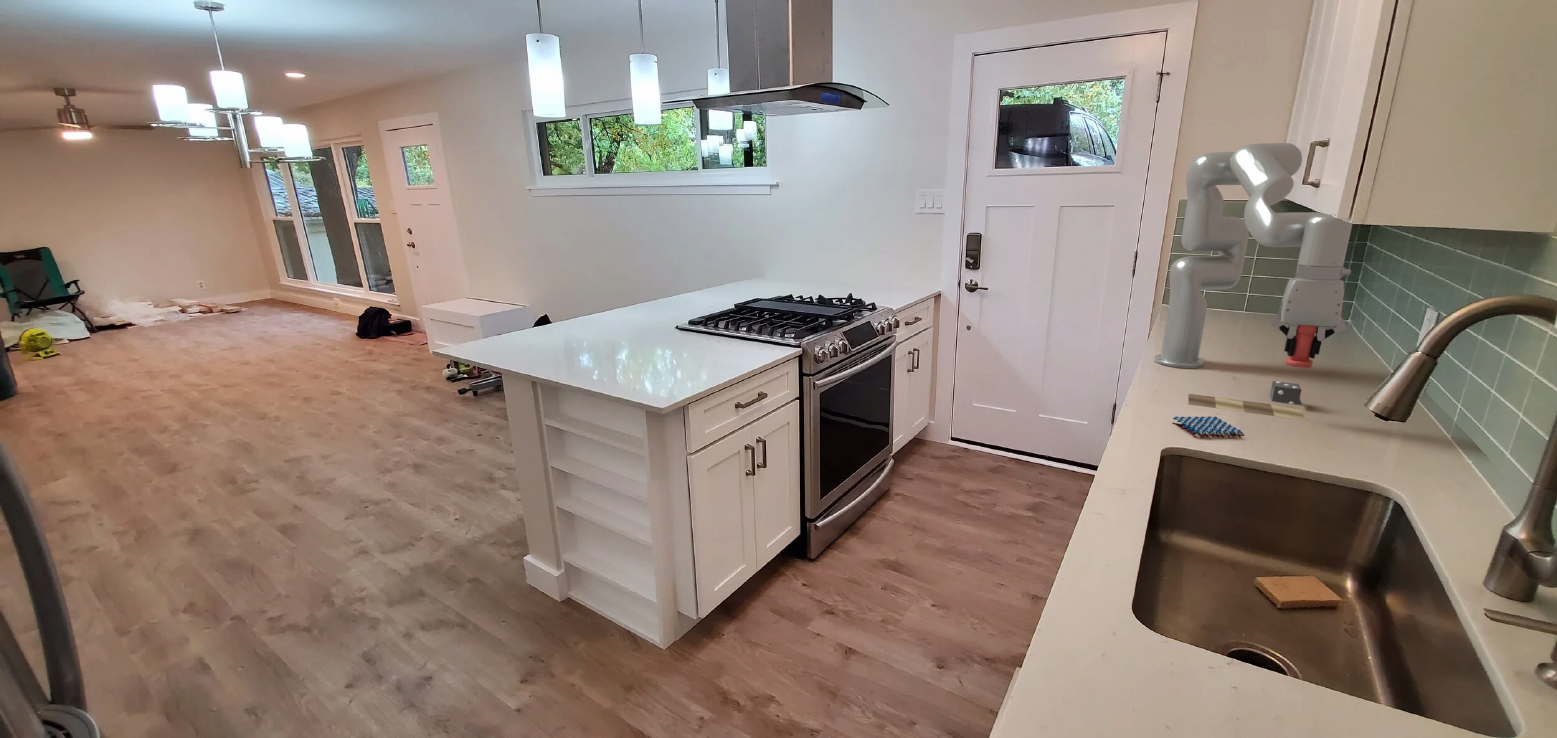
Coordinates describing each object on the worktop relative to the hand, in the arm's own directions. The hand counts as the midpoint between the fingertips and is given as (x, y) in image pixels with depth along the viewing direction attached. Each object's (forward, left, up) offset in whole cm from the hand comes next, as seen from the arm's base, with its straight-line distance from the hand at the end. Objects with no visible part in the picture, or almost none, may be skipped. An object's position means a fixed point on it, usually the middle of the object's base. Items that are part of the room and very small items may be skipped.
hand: (1300, 355), depth 141 cm
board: (0, -8, -15) cm, 17 cm away
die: (-10, 0, -15) cm, 18 cm away
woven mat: (+18, -16, -15) cm, 28 cm away
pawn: (0, 0, -2) cm, 2 cm away
